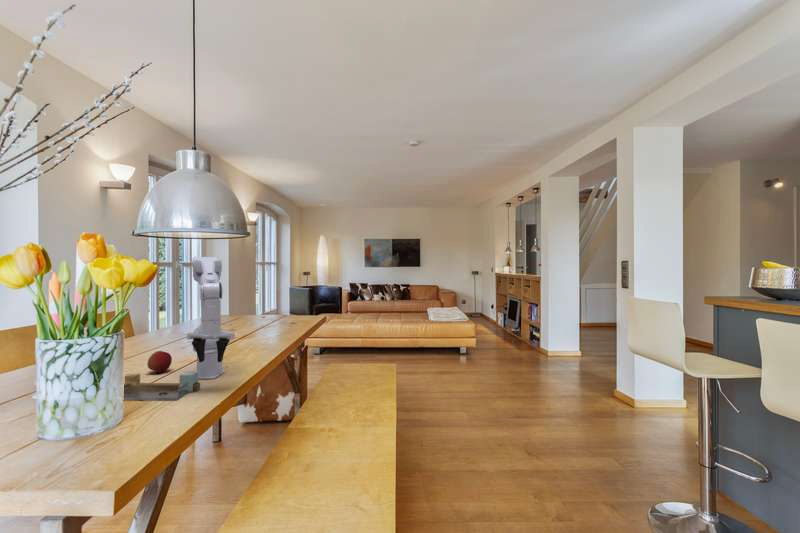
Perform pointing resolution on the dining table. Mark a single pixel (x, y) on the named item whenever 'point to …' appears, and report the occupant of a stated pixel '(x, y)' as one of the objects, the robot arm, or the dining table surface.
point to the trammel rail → (151, 384)
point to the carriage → (188, 381)
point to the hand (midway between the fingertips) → (210, 361)
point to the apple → (159, 361)
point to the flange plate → (153, 395)
